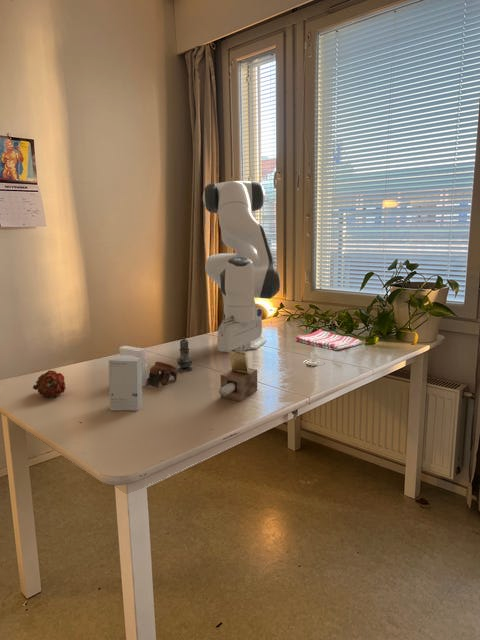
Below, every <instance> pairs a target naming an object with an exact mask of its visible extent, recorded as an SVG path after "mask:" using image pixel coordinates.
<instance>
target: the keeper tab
mask: <svg viewBox="0 0 480 640" xmlns="http://www.w3.org/2000/svg"><path fill="white" fill-rule="evenodd" d="M228 356H229V361H230V365H231V369H232V371H235V372H241V373H246V374H249V368H250V367H249V363H248V357H247V353H246V352H245V353H239V352H236V351H234V350H231V351H229V352H228Z"/></svg>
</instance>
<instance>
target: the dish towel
mask: <svg viewBox="0 0 480 640" xmlns="http://www.w3.org/2000/svg"><path fill="white" fill-rule="evenodd" d="M295 339H296V342H299V343H303V344H306V345H311V346H315V347H320V348H322V347H323V348H322V349H327V350H331V351H342V350H345V349H349V348H354V347H357V346H359V345H361V344H363V343H362V341H361V340H360V339H358V338H355V337H352V336H347V335H346V336H344V335H343V336H342V335H338V334H333V333H331V332H328V331H326V330H323V329H321V328H320V329H317V331H314V332H312V333H310V334H306V335H303V334H301V335H297V336H296V337H295ZM356 345H357V346H356Z"/></svg>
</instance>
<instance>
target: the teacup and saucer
mask: <svg viewBox="0 0 480 640" xmlns="http://www.w3.org/2000/svg"><path fill="white" fill-rule="evenodd" d="M309 358H310V359H309V360H310V361H307V360H308V359H306V360H304V361H303V363H304V362H305V361H307V362H306V363H307V364H308V365H307V366H310V365H311V366H312V367H317V366H316V365H318V362H319V361H318V360H319V352H316V351H315V352H314V351H313V352H310V353H309ZM311 366H310V367H311Z"/></svg>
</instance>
